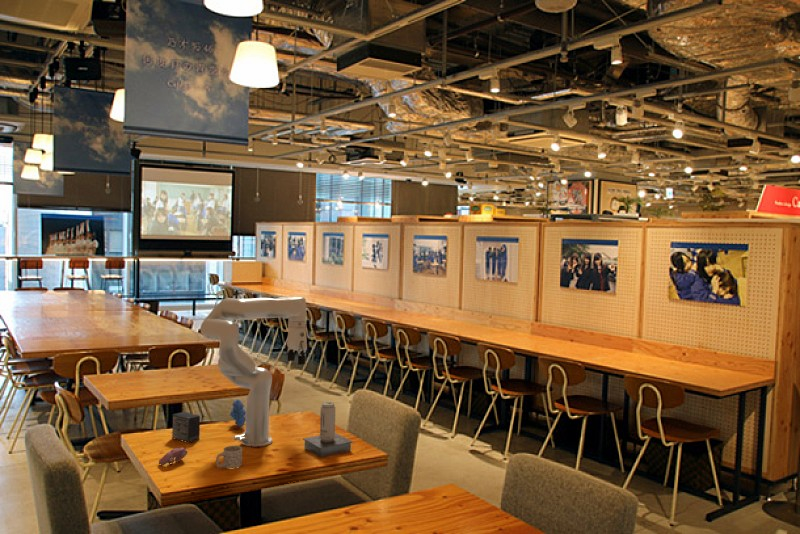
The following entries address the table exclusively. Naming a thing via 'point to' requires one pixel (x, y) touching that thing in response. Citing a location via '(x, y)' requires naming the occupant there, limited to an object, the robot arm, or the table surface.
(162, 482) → the table surface
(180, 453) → the purple oval lump
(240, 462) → the mug
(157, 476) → the table surface
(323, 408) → the energy drink can
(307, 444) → the stand
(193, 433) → the small box
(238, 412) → the grapes
